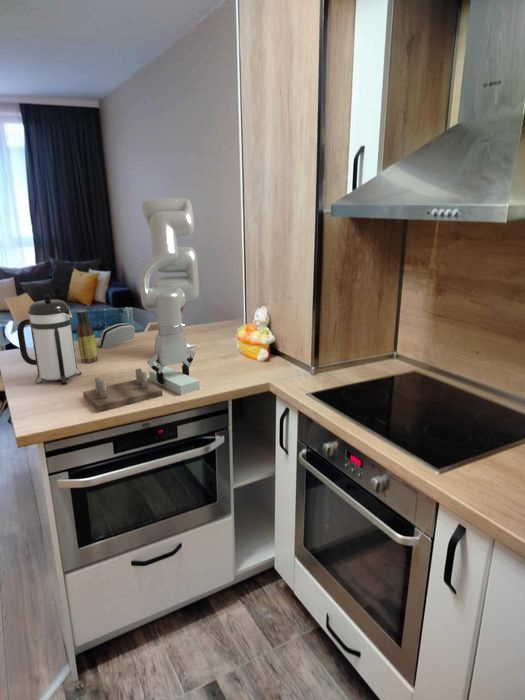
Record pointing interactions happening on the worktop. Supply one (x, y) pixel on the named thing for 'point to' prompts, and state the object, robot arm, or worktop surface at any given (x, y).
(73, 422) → the worktop surface
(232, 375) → the worktop surface
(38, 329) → the coffee press
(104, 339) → the napkin holder
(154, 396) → the peg stand
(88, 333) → the sauce bottle
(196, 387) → the shelf board
